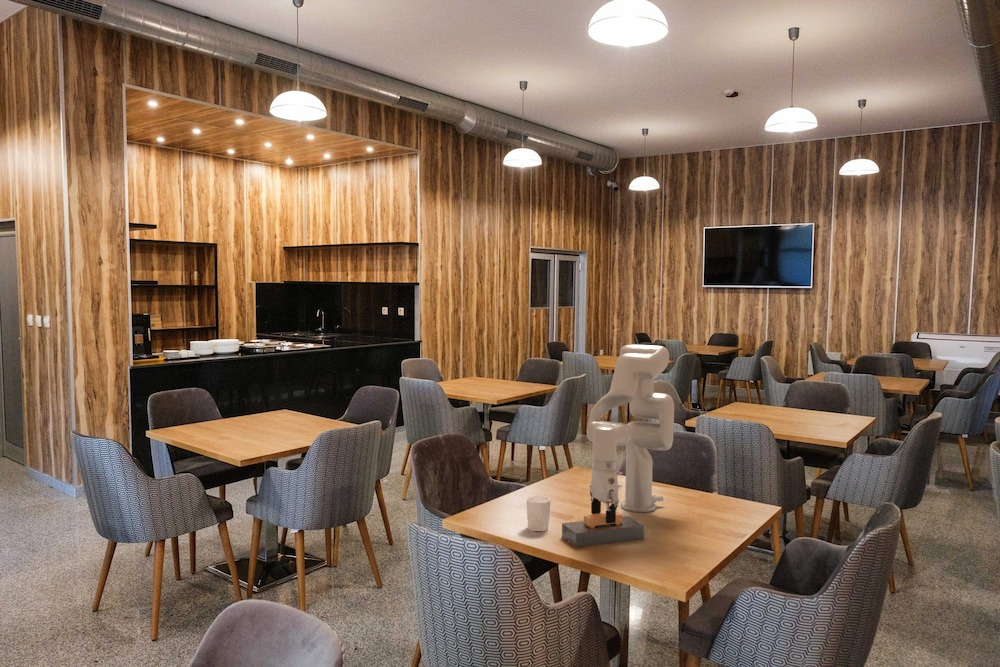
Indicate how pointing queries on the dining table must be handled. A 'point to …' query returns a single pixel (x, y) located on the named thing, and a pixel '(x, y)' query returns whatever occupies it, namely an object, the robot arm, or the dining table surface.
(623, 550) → the dining table surface
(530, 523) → the white cup
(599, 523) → the orange arch block
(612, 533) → the grey slotted block
